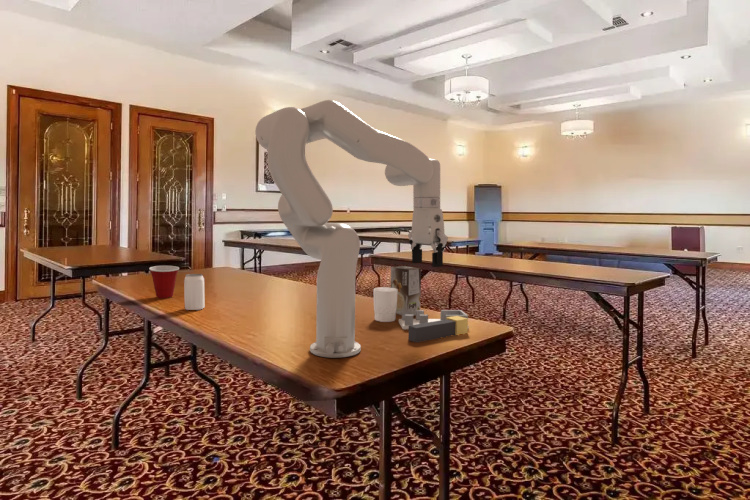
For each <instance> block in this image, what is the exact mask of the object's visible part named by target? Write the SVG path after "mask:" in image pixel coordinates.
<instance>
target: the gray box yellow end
mask: <svg viewBox="0 0 750 500" xmlns="http://www.w3.org/2000/svg"><path fill="white" fill-rule="evenodd" d="M468 324H469V318H468V319H467V318H463V317H460V316H453V317H446V320H440V321H434V322H428V323H422V324H416V325H410V326H409V329H408V336H407V337H408V341H410V342H413V343H415V342H417V343H422V342H421V341H423V342H428V341H432V339H433V340H438V339H441V337H443V338H447V337H446V336H448V337H452V336H451V335H454V336H456V335H458V336H460V335H459V334H463V335H466V334H465V333H468V331H469V329H468V326H469V325H468ZM437 338H438V339H437ZM427 340H428V341H427Z"/></svg>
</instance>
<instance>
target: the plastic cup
mask: <svg viewBox="0 0 750 500" xmlns="http://www.w3.org/2000/svg"><path fill="white" fill-rule="evenodd" d="M179 270H180V267H179V266H176V265H175V266H174V265H155V266H150V267H149V271H150V274H151V277H152V281H153V286H154V287H153V288H154V290H155V291H154V292H155V296H156V298H157V297H158V298H157V299H169V298H168V297H171V298H173V297H172V296H174V292H175V288H176V281H177V280H176V279H177V275H178V271H179Z"/></svg>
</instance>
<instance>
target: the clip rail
mask: <svg viewBox="0 0 750 500" xmlns="http://www.w3.org/2000/svg"><path fill="white" fill-rule="evenodd" d="M453 316H460V317H463V318H467V319H468V320H469V315H468V314H467V313H466V312H464V311H463V310H462V309H440V318H429V315H428V314H425V310H424V309H420V310H416V315H415V318H414V316H413V315H410V310H402V315H401V318H398V324H399V325H400V327H401V329H402V330H409V326H410V325H416V324H422V323H428V322H434V321H440V320H446V317H453ZM469 326H470V325H468V330H469V328H470V327H469Z"/></svg>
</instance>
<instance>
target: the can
mask: <svg viewBox="0 0 750 500" xmlns="http://www.w3.org/2000/svg"><path fill="white" fill-rule="evenodd" d="M183 283H184V289H183V290H184V291H183V292H184V309H185V310H186V311H188V310H196V311H201V309H202V310H204V309H205V305H206V303H205V301H206V299H205V277H204V276H203V274H202V273H190V274H189V273H188V274H187V273H186V274H185V277H184V280H183ZM203 308H204V309H203Z"/></svg>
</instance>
